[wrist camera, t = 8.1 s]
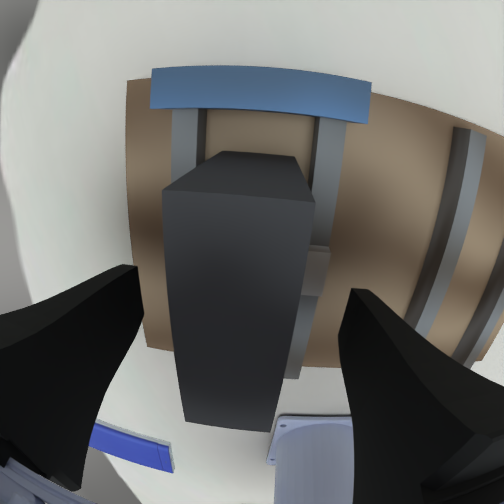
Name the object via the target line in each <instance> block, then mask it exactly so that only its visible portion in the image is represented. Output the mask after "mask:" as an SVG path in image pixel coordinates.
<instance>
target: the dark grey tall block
mask: <svg viewBox="0 0 504 504" xmlns="http://www.w3.org/2000/svg"><path fill="white" fill-rule="evenodd" d="M315 205H316V202H315V200H314V197H313V195H312V193H311V191H310V188H309V186H308V184H307V182H306V180H305V177H304V175H303V173H302V171H301V169H300V167H299V164H298V162H297V160H296V158H295V156H286V155H276V154H265V153H253V152H239V151H223V150H222V151H221V152H219V153H218V154H216V155H214V156H213V157H211V158H210V159H208V160H206V161H205V162H203V163H202V164H200V165H198V166H197V167H195V168H194V169H192V170H191V171H189V172H188V173H186V174H185V175H183V176H182V177H180V178H179V179H177V180H176V181H174V182H173V183H171V184H170V185H168V186H167V187H165V188H164V189H163V190H162V218H163V240H164V257H165V271H166V284H167V295H168V305H169V315H170V324H171V332H172V341H173V348H174V356H175V363H176V370H177V376H178V382H179V389H180V395H181V400H182V406H183V412H184V417H185V421H186V422H191V423H197V424H203V425H209V426H216V427H223V428H230V429H239V430H248V431H259V432H271V428H272V424H273V420H274V416H275V412H276V408H277V404H278V400H279V395H280V391H281V387H282V383H283V378H284V374H285V369H286V365H287V360H288V356H289V351H290V346H291V342H292V337H293V332H294V327H295V322H296V317H297V312H298V307H299V301H300V296H301V291H302V285H303V279H304V274H305V268H306V262H307V256H308V250H309V244H310V238H311V232H312V225H313V219H314V212H315Z"/></svg>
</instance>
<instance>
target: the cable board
mask: <svg viewBox="0 0 504 504" xmlns="http://www.w3.org/2000/svg"><path fill="white" fill-rule="evenodd" d="M371 84H372V82H367V81H362V80H358V79H353V78H347V77H342V76H336V75H330V74H324V73H317V72H310V71H302V70H293V69H283V68H271V67H256V66H182V67H166V68H155V69H152V77H151V78H148V79H138V80H129V81H127V95H126V182H127V200H128V215H129V227H130V237H131V247H132V256H133V264H134V266H138V272H139V280H140V287H141V294H142V301H143V308H144V317H143V319H142V322H143V328H144V333H145V338H146V343H147V347H151V348H156V349H162V350H167V351H173V352H174V348H173V341H172V332H171V324H170V315H169V305H168V295H167V284H166V271H165V257H164V240H163V218H162V190H163V189H164V188H165V187H167V186H168V185H170V184H171V183H173V182H174V181H176V180H177V179H179V178H180V177H182V176H183V175H185V174H186V173H188V172H189V171H191V170H192V169H194V168H195V167H197V166H198V165H200V164H202V163H203V162H205V161H206V160H208V159H210V158H211V157H213V156H214V155H216V154H218V153H219V152H221V151H222V150H223V151H239V152H253V153H265V154H276V155H286V156H295V158H296V160H297V162H298V164H299V167H300V169H301V171H302V173H303V175H304V177H305V180H306V182H307V184H308V186H309V188H310V191H311V193H312V195H313V197H314V200H315V202H316V205H315V212H314V219H313V225H312V232H311V238H310V244H309V250H308V256H307V262H306V268H305V274H304V279H303V285H302V291H301V296H300V301H299V307H298V312H297V317H296V322H295V327H294V332H293V337H292V342H291V346H290V351H289V356H288V360H287V365H286V369H285V374H284V378H286V379H298V378H299V375H300V371H301V367H302V366H305V367H328V368H341V364H340V358H339V347H338V332H339V329H340V326H341V322H342V319H343V316H344V312H345V309H346V305H347V302H348V298H349V294H350V291H351V288H360V289H369V290H370V291H371V292H373V293H374V294H375V295H376V296H378V297H379V298H380V299H381V300H382V301H383V302H384V303H385V304H386V305H388V306H389V307H390V308H391V309H392V310H393V311H394V312H395V313H396V314H397V315H398V316H400V317H401V318H402V319H403V320H404V321H405V322H406V323H407V324H408V325H410V326H411V327H412V328H413V329H414V330H415V331H417V332H418V333H419V334H420V335H421V336H423V337H424V338H425V339H426V340H427V341H429V342H430V343H431V344H433V345H434V346H435V347H436V348H438V349H439V350H441V351H442V352H444V353H445V354H446V355H448V356H449V357H451V358H452V359H454V360H455V361H457V362H458V363H460V364H461V365H463V366H465V367H467V368H468V369H470V368H471V367H472V365H473V364H474V362H475V361H482V359H483V358H484V356H485V354H486V353H487V351H488V350H489V348H490V346H491V344H492V343H493V341H494V339H495V337H496V336H497V334H498V332H499V330H500V328H501V326H502V324H503V323H504V137H503V136H501V135H498V134H496V133H494V132H492V131H490V130H487V129H485V128H483V127H480V126H478V125H475V124H473V123H470V122H468V121H465V120H463V119H460V118H457V117H455V116H452V115H449V114H446V113H443V112H440V111H437V110H434V109H431V108H428V107H425V106H422V105H418V104H415V103H411V102H408V101H404V100H401V99H397V98H393V97H389V96H385V95H381V94H376V93H372V92H371Z"/></svg>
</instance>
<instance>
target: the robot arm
mask: <svg viewBox="0 0 504 504" xmlns="http://www.w3.org/2000/svg"><path fill="white" fill-rule="evenodd" d="M143 317H144V308H143V301H142V294H141V287H140V280H139V272H138V266H133V265H125V264H122V265H119V266H116V267H114V268H111V269H109V270H107V271H105V272H103V273H101V274H99V275H97V276H94V277H92V278H90V279H88V280H86V281H84V282H82V283H80V284H78V285H76V286H74V287H72V288H70V289H68V290H66V291H64V292H62V293H59V294H57V295H55V296H53V297H51V298H49V299H46V300H44V301H41V302H39V303H36V304H33V305H31V306H28V307H25V308H22V309H19V310H16V311H12V312H9V313H5V314H2V315H0V504H45V502H46V503H47V504H97V503H94V502H92V501H89V500H87V499H85V498H83V497H80V496H78V495H76V494H74V493H72V491H77V490H79V489H81V484H82V477H83V470H84V464H85V459H86V454H87V450H88V446H89V442H90V438H91V434H92V431H93V427H94V424H95V421H96V418H97V415H98V412H99V409H100V406H101V404H102V401H103V398H104V395H105V393H106V391H107V389H108V387H109V384H110V382H111V381H112V379H113V377H114V375H115V373H116V371H117V370H118V368H119V366H120V364H121V362H122V361H123V359H124V357H125V355H126V353H127V352H128V350H129V348H130V346H131V344H132V343H133V341H134V339H135V337H136V335H137V332H138V330H139V327H140V325H141V322H142V319H143ZM338 347H339V358H340V364H341V369H342V373H343V378H344V383H345V387H346V392H347V397H348V402H349V407H350V411H351V417H302V416H281V417H279V418H278V420H277V424H276V428H275V432H274V435H273V439H272V442H271V446H270V450H269V453H268V456H267V460H266V463H267V464H268V465H276V472H275V491H274V504H504V386H502V385H499V384H497V383H495V382H493V381H490V380H488V379H487V378H485V377H483V376H481V375H479V374H477V373H475V372H473V371H472V370H470V369H468V368H467V367H465V366H463V365H461V364H460V363H458V362H457V361H455V360H454V359H452V358H451V357H449V356H448V355H446V354H445V353H444V352H442V351H441V350H439V349H438V348H436V347H435V346H434V345H433V344H431V343H430V342H429V341H427V340H426V339H425V338H424V337H423V336H421V335H420V334H419V333H418V332H417V331H415V330H414V329H413V328H412V327H411V326H410V325H408V324H407V323H406V322H405V321H404V320H403V319H402V318H401V317H400V316H398V315H397V314H396V313H395V312H394V311H393V310H392V309H391V308H390V307H389V306H388V305H386V304H385V303H384V302H383V301H382V300H381V299H380V298H379V297H378V296H376V295H375V294H374V293H373V292H371V291H370V290H369V289H360V288H351V291H350V294H349V298H348V302H347V305H346V309H345V312H344V316H343V319H342V322H341V326H340V329H339V332H338ZM40 475H41V476H40ZM43 477H44V478H43ZM45 478H46V479H45ZM47 479H48V480H50V481H52V482H54V483H56V484H57V485H56V484H54V483H52V482H50V481H48V480H47ZM58 485H59V486H58ZM60 486H61V487H60ZM62 487H64V488H65V489H64V488H62ZM66 489H68V490H69V491H68V490H66ZM70 491H71V492H70Z"/></svg>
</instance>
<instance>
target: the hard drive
mask: <svg viewBox="0 0 504 504" xmlns="http://www.w3.org/2000/svg"><path fill="white" fill-rule="evenodd" d="M89 446H90V447H93V448H95V449H97V450H100V451H103V452H105V453H108V454H111V455H113V456H116V457H119V458H122V459H125V460H128V461H131V462H134V463H137V464H140V465H144V466H147V467H151V468H154V469H158V470H162V471H166V472H170V473H173V472H174V469H175V468H174V462H173V457H172V451H171V444H170V442H167V441H163V440H160V439H156V438H153V437H149V436H146V435H142V434H139V433H136V432H133V431H130V430H127V429H124V428H121V427H118V426H115V425H112V424H109V423H107V422H104V421H101V420H99V419H96V421H95V424H94V427H93V431H92V434H91V438H90V442H89Z"/></svg>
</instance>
